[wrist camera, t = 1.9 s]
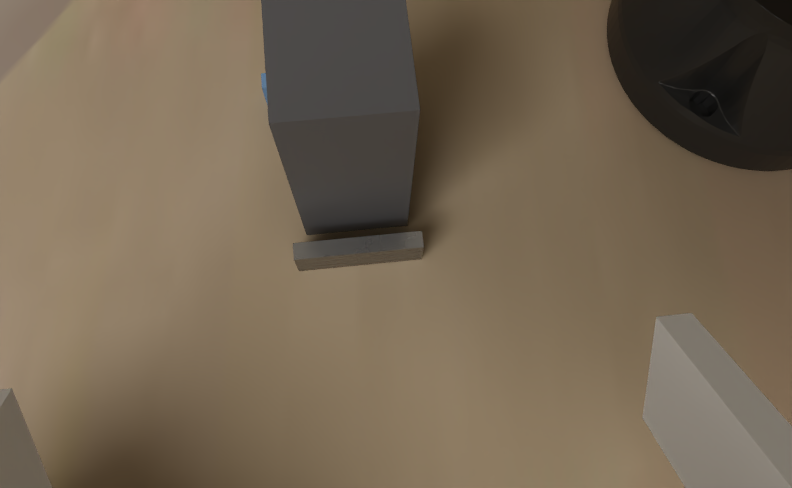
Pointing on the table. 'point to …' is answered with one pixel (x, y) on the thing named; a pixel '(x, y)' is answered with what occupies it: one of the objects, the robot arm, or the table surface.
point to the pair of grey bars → (358, 250)
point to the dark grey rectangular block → (343, 109)
